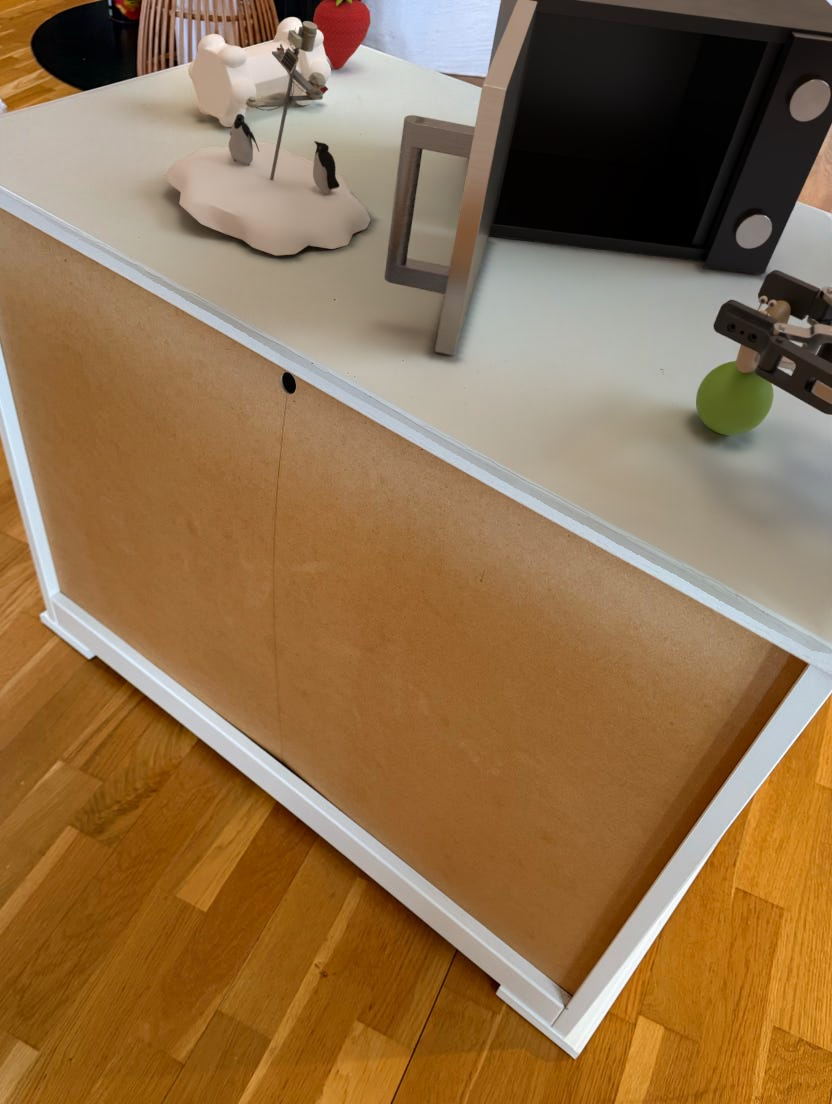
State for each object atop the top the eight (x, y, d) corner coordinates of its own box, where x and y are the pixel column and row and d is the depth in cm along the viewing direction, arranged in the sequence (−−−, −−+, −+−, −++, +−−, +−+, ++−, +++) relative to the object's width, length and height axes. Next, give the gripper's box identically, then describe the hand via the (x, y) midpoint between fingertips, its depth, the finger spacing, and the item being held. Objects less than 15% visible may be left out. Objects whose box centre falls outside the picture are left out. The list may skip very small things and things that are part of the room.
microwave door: (371, 338, 75) (403, 70, 61) (418, 226, 90) (454, -14, 75) (453, 355, 75) (506, 89, 60) (488, 240, 89) (537, 1, 74)
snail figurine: (667, 431, 71) (730, 283, 62) (703, 399, 74) (768, 255, 65) (731, 463, 69) (806, 316, 60) (766, 429, 72) (841, 285, 63)
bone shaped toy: (281, 86, 111) (283, 7, 105) (332, 110, 108) (338, 30, 102) (185, 112, 103) (181, 28, 97) (237, 138, 100) (237, 53, 94)
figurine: (122, 188, 87) (120, -11, 74) (250, 142, 97) (267, -40, 85) (283, 287, 82) (309, 91, 69) (400, 227, 92) (442, 47, 79)
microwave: (765, 280, 89) (871, 46, 74) (480, 246, 88) (529, 2, 73) (717, 183, 104) (798, -29, 89) (472, 153, 103) (512, -66, 88)
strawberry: (375, 73, 117) (385, -20, 109) (326, 80, 114) (332, -16, 106) (350, 57, 120) (357, -35, 112) (301, 64, 117) (305, -31, 109)
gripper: (1049, 316, 59) (809, 218, 66) (977, 398, 52) (714, 278, 58) (978, 413, 65) (764, 314, 72) (904, 501, 57) (672, 380, 64)
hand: (743, 298), depth 65 cm, fingers closed on snail figurine, 6 cm apart
